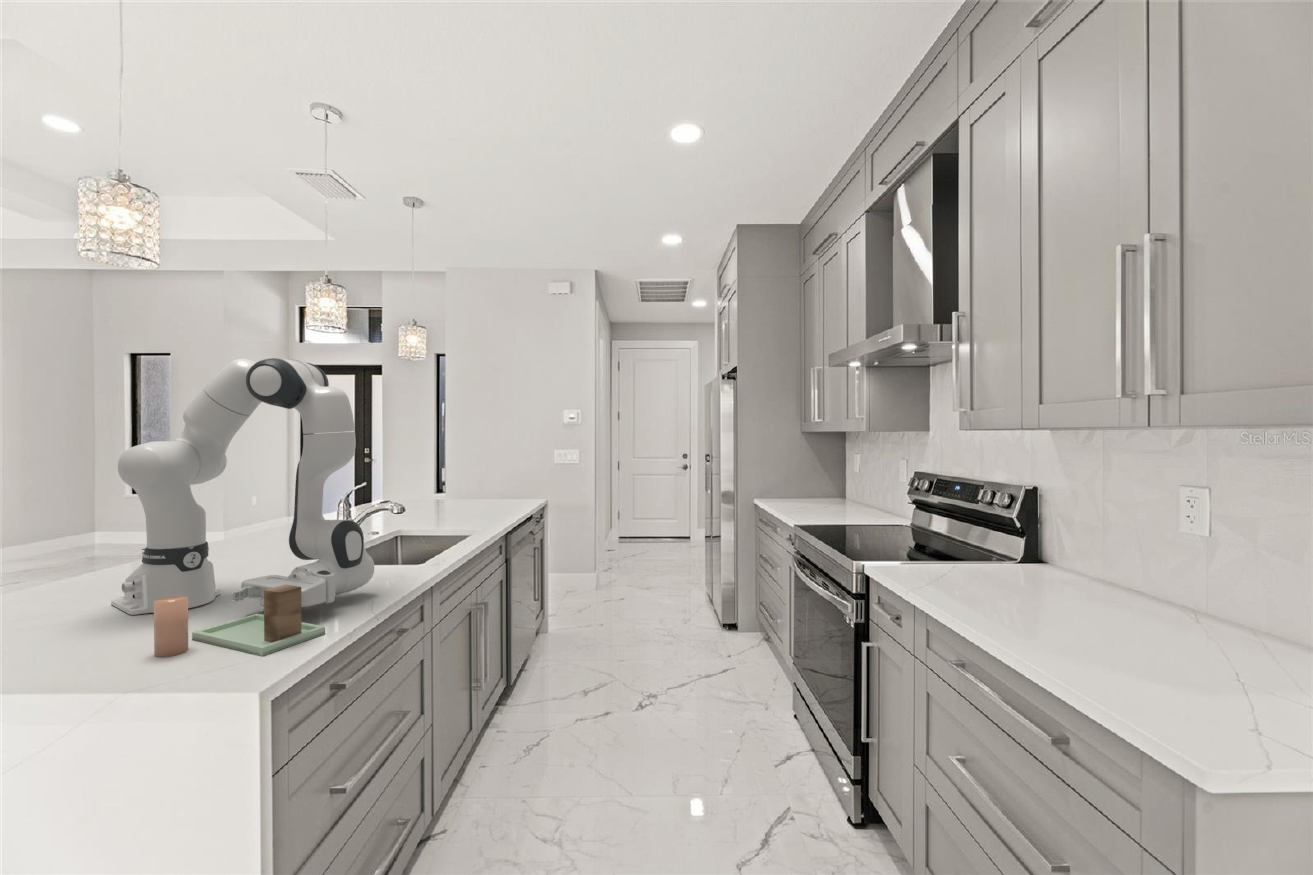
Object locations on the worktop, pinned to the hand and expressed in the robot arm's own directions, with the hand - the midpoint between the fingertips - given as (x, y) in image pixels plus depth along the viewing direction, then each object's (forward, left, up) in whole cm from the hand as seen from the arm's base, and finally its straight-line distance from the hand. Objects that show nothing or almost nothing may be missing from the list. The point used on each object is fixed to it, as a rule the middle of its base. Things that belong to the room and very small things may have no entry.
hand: (247, 599), depth 127 cm
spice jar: (0, -14, -6) cm, 15 cm away
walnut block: (+14, -2, -5) cm, 15 cm away
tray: (+7, -2, -6) cm, 10 cm away
